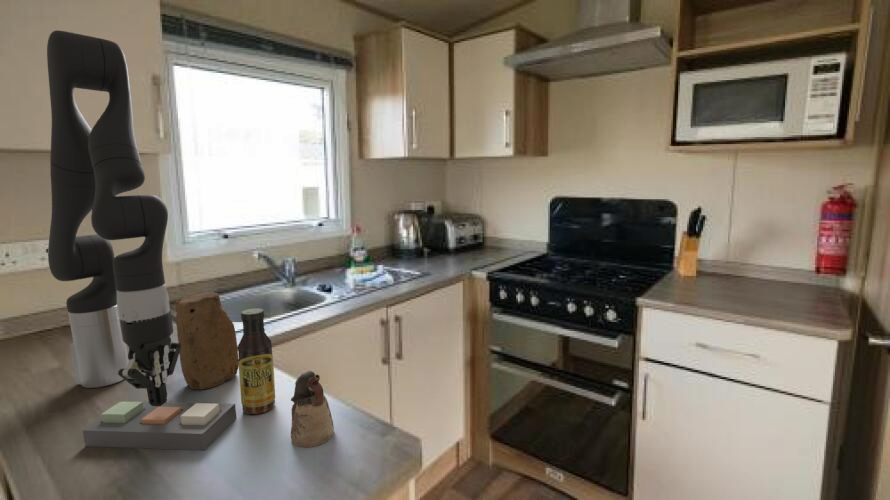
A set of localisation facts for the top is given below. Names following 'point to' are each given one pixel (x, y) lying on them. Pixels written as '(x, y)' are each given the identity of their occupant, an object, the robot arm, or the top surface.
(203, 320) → the brown sandstone rock
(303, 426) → the figurine
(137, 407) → the sage button
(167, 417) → the terracotta button
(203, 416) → the cream button
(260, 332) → the sauce bottle
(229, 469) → the top surface
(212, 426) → the button panel
